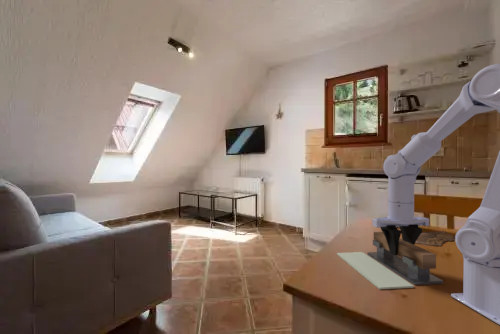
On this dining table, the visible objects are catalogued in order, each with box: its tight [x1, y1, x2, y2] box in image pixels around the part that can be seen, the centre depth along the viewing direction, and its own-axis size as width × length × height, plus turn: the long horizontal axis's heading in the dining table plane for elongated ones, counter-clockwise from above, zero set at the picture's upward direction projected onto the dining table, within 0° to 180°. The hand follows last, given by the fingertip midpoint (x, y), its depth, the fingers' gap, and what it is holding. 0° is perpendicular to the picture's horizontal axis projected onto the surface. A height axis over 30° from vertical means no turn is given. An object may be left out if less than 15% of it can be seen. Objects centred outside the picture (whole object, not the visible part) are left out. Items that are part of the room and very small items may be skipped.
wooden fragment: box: [414, 230, 455, 247], centre depth 88 cm, size 26×11×1 cm, turn 122°
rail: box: [373, 231, 437, 270], centre depth 63 cm, size 18×3×3 cm, turn 6°
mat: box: [336, 251, 415, 290], centre depth 62 cm, size 20×8×1 cm, turn 6°
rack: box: [366, 239, 444, 286], centre depth 63 cm, size 18×7×5 cm, turn 6°
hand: (400, 253), depth 63 cm, fingers closed on rail, 3 cm apart
